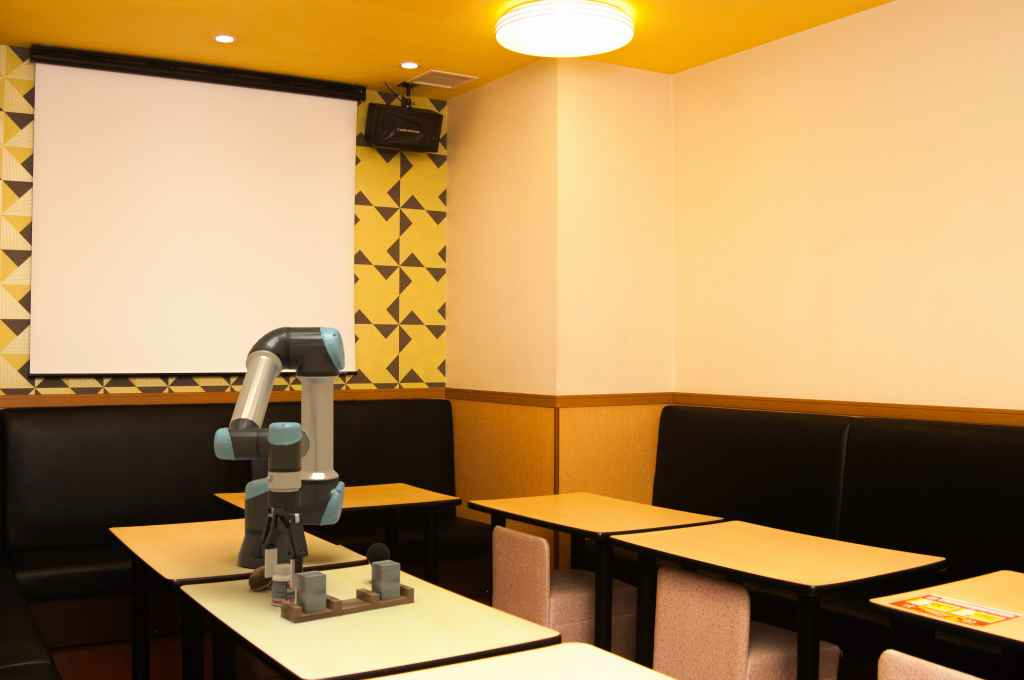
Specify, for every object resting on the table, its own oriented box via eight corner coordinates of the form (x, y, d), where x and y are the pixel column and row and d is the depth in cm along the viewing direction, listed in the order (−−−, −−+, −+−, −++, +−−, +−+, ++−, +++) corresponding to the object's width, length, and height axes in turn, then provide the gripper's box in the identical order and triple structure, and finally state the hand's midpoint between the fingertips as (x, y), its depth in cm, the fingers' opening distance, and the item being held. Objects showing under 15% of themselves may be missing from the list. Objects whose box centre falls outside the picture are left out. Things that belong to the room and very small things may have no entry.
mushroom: (289, 572, 250) (274, 554, 248) (279, 592, 242) (264, 573, 241) (264, 585, 252) (249, 567, 250) (254, 605, 245) (238, 586, 243)
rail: (280, 616, 222) (281, 574, 222) (397, 595, 240) (398, 557, 240) (295, 623, 216) (295, 580, 216) (413, 602, 235) (414, 562, 235)
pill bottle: (289, 607, 229) (289, 568, 229) (267, 606, 230) (268, 567, 230) (298, 601, 234) (299, 563, 234) (277, 600, 235) (278, 562, 235)
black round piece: (388, 585, 250) (388, 545, 250) (364, 585, 251) (364, 545, 251) (391, 580, 256) (391, 540, 256) (368, 580, 256) (368, 540, 256)
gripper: (247, 485, 240) (246, 574, 239) (293, 496, 220) (292, 594, 220) (276, 483, 245) (275, 570, 244) (324, 494, 225) (323, 589, 224)
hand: (283, 582), depth 232 cm, fingers open, 13 cm apart
